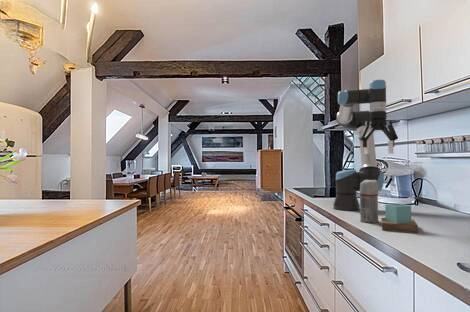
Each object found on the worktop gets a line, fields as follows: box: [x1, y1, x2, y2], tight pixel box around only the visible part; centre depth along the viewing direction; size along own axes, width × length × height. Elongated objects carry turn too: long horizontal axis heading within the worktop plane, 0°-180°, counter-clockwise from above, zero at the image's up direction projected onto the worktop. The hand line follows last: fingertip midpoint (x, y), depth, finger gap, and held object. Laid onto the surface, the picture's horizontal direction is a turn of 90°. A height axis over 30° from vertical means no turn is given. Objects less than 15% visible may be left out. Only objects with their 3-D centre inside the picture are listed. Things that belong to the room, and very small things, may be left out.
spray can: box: [359, 180, 379, 224], centre depth 150 cm, size 8×8×20 cm
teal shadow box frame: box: [384, 203, 412, 223], centre depth 135 cm, size 7×7×7 cm
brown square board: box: [380, 205, 419, 234], centre depth 135 cm, size 13×13×10 cm
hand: (378, 154), depth 157 cm, fingers open, 13 cm apart
